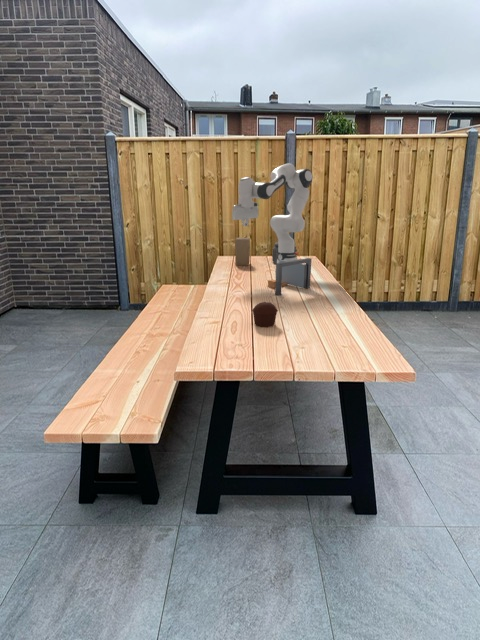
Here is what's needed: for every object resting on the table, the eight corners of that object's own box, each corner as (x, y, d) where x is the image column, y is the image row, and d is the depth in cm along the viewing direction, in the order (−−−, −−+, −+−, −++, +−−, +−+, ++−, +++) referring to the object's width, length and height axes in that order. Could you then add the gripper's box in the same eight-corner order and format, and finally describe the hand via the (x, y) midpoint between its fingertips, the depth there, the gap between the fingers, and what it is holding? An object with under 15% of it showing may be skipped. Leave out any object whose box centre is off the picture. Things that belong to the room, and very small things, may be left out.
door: (306, 288, 272) (307, 264, 267) (304, 288, 271) (305, 265, 267) (280, 281, 287) (280, 259, 283) (278, 282, 286) (279, 260, 282)
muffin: (266, 330, 198) (266, 308, 195) (246, 324, 205) (247, 303, 202) (282, 323, 207) (283, 302, 204) (263, 319, 214) (263, 298, 211)
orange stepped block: (273, 288, 274) (273, 281, 272) (267, 286, 277) (268, 280, 276) (287, 285, 281) (287, 278, 280) (281, 283, 285) (281, 277, 284)
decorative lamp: (269, 264, 348) (270, 224, 339) (275, 260, 365) (276, 222, 356) (293, 266, 342) (294, 225, 333) (298, 261, 359) (300, 223, 350)
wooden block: (249, 263, 349) (249, 237, 343) (248, 266, 340) (248, 239, 334) (236, 263, 350) (236, 237, 344) (235, 265, 341) (235, 239, 335)
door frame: (306, 287, 275) (308, 258, 270) (309, 288, 273) (311, 258, 268) (275, 294, 258) (276, 263, 252) (278, 295, 256) (279, 263, 251)
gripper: (236, 205, 280) (236, 227, 285) (260, 203, 293) (259, 225, 298) (229, 204, 285) (229, 226, 289) (253, 203, 298) (253, 224, 302)
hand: (245, 226), depth 293 cm, fingers closed
